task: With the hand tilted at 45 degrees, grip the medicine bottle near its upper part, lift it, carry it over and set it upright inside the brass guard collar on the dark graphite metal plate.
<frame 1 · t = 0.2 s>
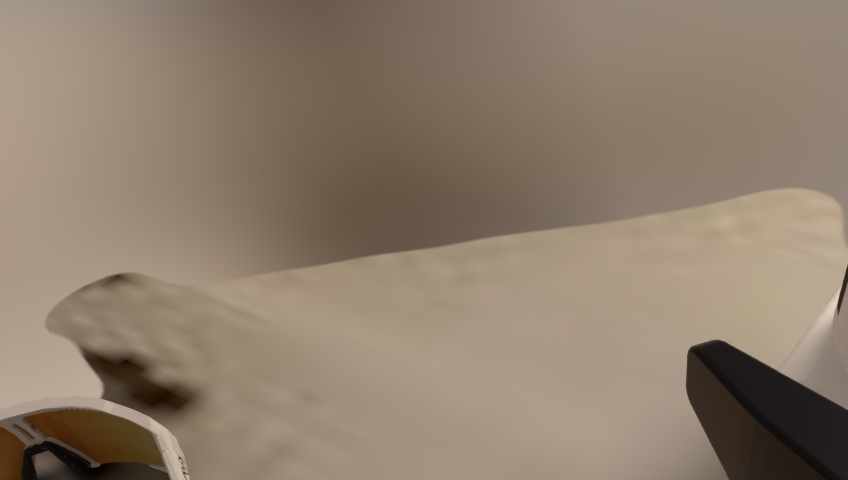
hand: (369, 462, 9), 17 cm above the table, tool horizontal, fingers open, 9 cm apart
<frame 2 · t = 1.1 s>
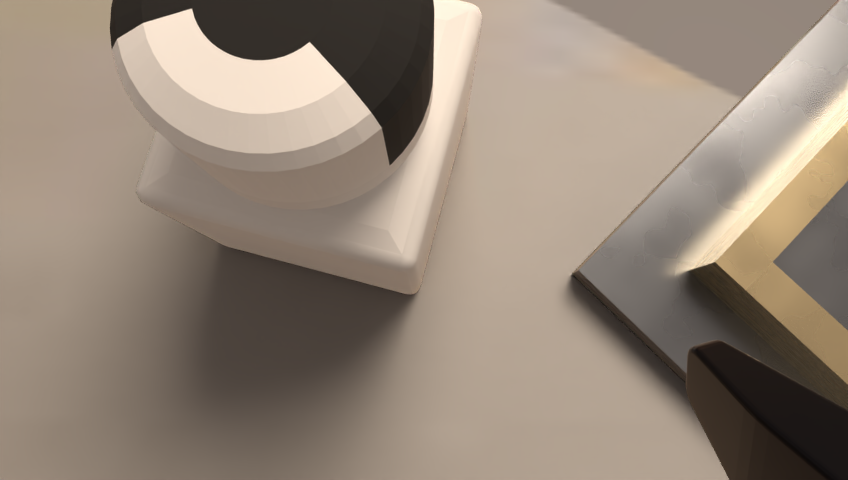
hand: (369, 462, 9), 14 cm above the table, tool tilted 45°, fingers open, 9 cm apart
medicine bottle: (346, 175, 24), on the table
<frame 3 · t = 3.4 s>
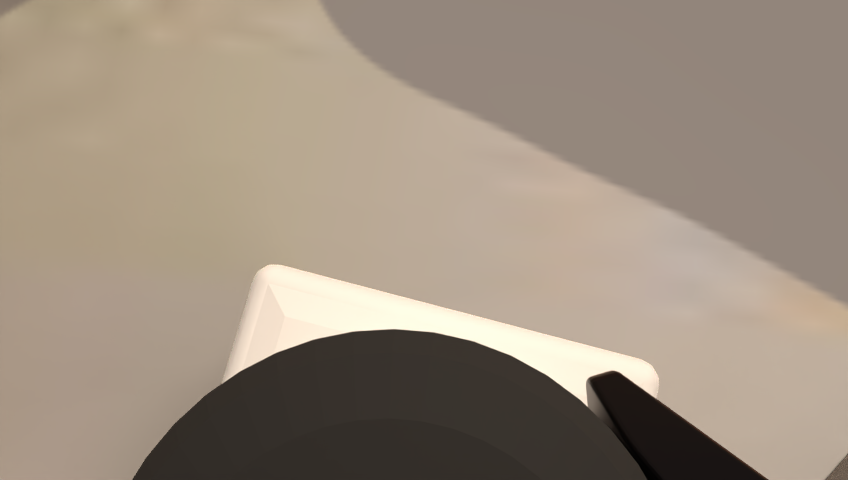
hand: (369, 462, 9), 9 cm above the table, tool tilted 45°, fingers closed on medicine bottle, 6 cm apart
medicine bottle: (413, 456, 18), on the table, touching gripper
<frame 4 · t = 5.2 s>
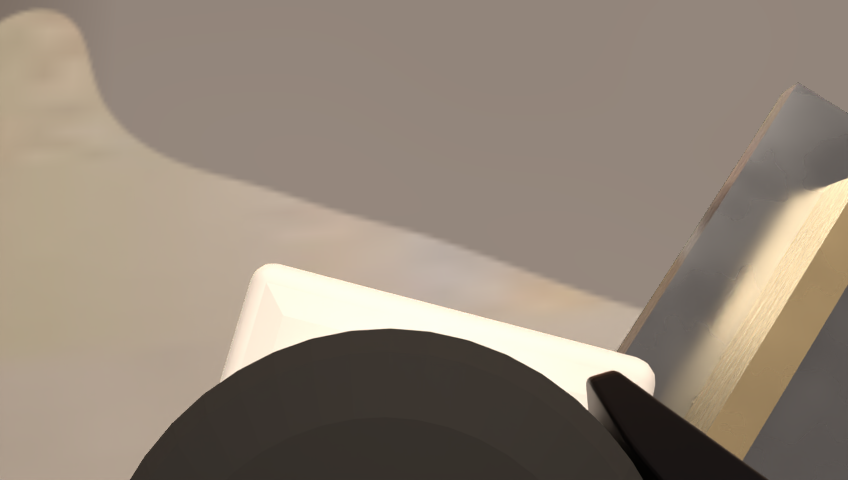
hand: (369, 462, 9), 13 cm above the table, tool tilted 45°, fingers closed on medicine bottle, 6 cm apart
medicine bottle: (411, 454, 18), point 4 cm above the table, touching gripper
when the fingers open (11 cm above the table, at t = 7.3 s): medicine bottle stays where it is, resting on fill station.
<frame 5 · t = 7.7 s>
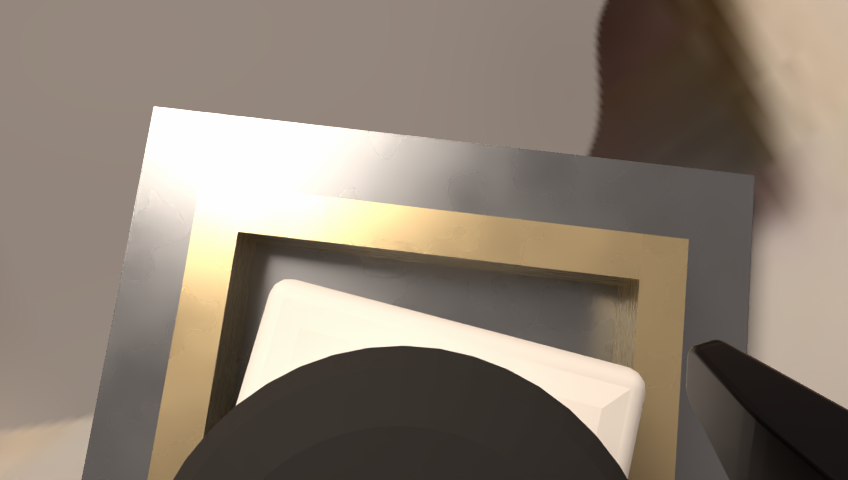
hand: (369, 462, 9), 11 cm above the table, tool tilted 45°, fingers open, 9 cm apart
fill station: (414, 446, 20), on the table
medicine bottle: (416, 456, 19), point 1 cm above the table, touching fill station
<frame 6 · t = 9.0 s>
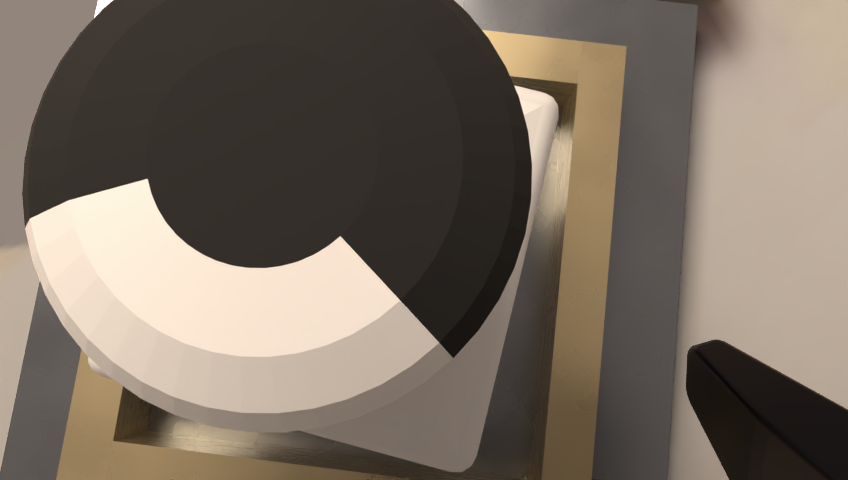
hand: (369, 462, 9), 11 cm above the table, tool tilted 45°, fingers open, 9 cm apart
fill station: (364, 268, 20), on the table
medicine bottle: (364, 270, 19), point 1 cm above the table, touching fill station
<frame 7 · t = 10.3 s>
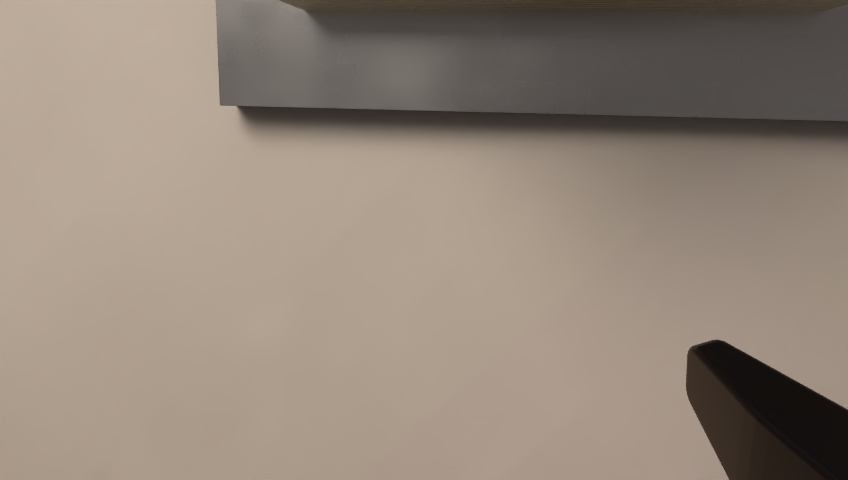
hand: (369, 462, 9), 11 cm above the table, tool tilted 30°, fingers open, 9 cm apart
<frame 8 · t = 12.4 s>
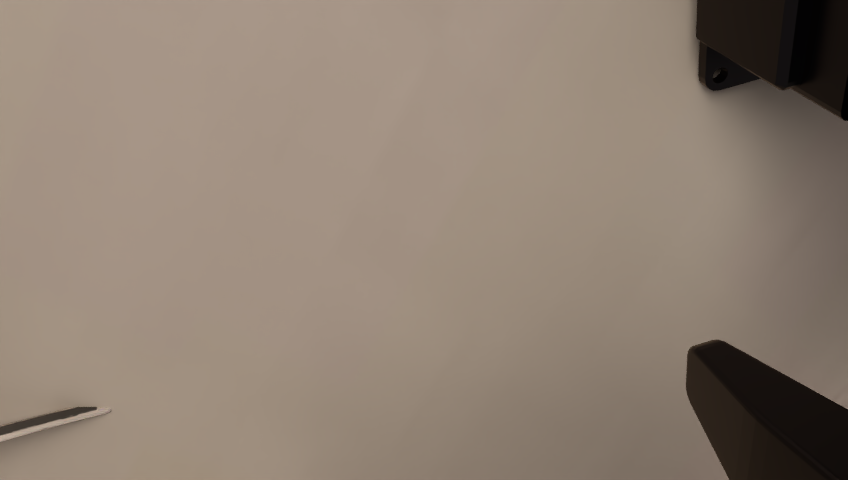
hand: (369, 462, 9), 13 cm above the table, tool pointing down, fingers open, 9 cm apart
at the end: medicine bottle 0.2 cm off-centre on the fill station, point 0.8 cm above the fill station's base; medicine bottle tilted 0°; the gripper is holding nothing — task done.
